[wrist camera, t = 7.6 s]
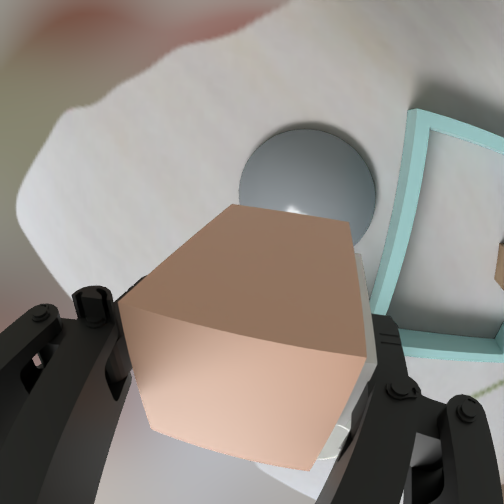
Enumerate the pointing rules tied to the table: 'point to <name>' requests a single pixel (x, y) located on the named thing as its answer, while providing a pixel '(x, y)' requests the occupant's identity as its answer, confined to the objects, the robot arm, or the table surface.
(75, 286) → the table surface
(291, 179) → the grey dome puck
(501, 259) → the walnut block
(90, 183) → the table surface
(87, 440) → the robot arm
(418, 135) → the corral
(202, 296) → the painted box
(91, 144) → the table surface
